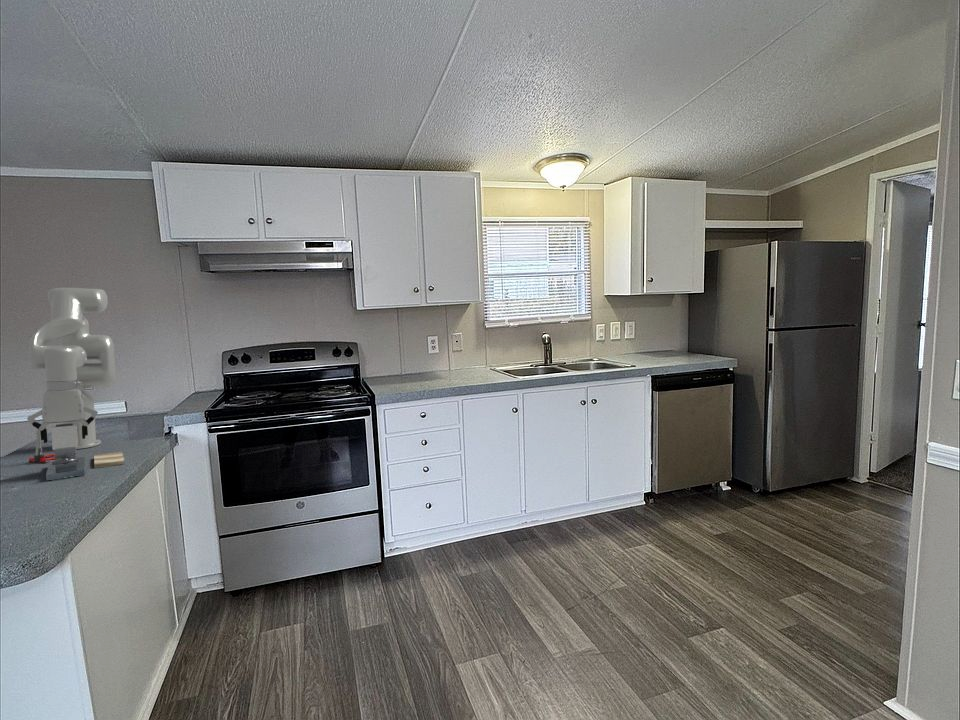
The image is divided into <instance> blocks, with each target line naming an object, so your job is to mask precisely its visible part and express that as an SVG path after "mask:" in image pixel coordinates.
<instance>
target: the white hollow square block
mask: <svg viewBox="0 0 960 720" xmlns="http://www.w3.org/2000/svg"><path fill="white" fill-rule="evenodd" d="M50 428H51V430H50V431H51V444H52V445H51V446H52V447H51V448H52V451H55V450H58V449H67V448H75V447H78V439H77V422H75V423H64V424H63V423H52V425H51V427H50Z"/></svg>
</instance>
